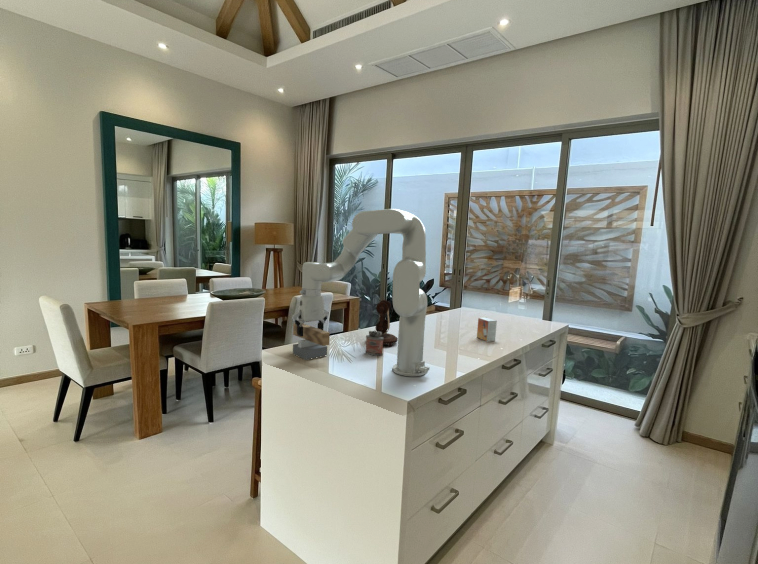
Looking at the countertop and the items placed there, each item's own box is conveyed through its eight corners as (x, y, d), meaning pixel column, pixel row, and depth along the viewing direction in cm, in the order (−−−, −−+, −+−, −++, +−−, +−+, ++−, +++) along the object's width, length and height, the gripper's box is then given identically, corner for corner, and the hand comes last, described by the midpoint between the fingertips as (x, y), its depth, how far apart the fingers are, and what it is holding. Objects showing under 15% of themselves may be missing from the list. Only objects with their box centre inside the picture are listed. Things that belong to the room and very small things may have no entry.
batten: (329, 344, 155) (329, 332, 154) (322, 346, 152) (323, 333, 152) (299, 333, 170) (299, 322, 170) (293, 334, 168) (293, 323, 168)
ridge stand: (326, 355, 162) (327, 340, 161) (306, 360, 155) (306, 344, 154) (313, 350, 169) (313, 335, 169) (292, 354, 162) (293, 338, 162)
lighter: (363, 353, 168) (364, 330, 167) (367, 351, 171) (368, 328, 170) (380, 356, 164) (381, 333, 163) (384, 354, 167) (385, 331, 166)
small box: (476, 337, 205) (477, 317, 203) (485, 336, 207) (486, 317, 206) (486, 341, 197) (488, 320, 196) (495, 340, 200) (497, 320, 199)
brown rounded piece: (395, 348, 178) (397, 304, 175) (363, 345, 180) (365, 302, 178) (398, 340, 192) (401, 299, 190) (369, 337, 194) (370, 297, 192)
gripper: (297, 295, 151) (296, 339, 153) (334, 292, 163) (333, 333, 164) (287, 292, 156) (286, 335, 158) (323, 290, 168) (322, 329, 170)
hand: (310, 334), depth 161 cm, fingers open, 9 cm apart
